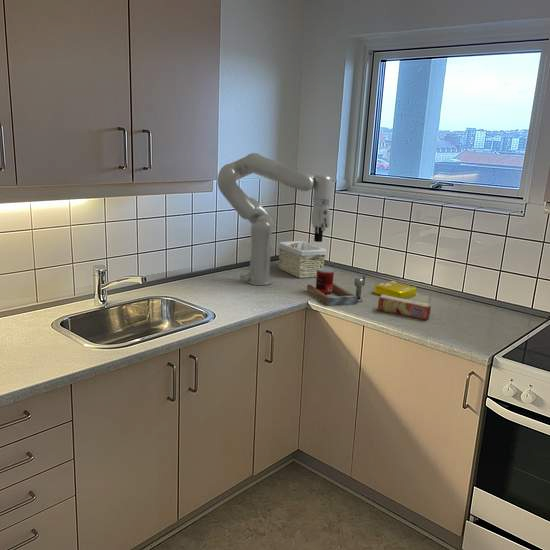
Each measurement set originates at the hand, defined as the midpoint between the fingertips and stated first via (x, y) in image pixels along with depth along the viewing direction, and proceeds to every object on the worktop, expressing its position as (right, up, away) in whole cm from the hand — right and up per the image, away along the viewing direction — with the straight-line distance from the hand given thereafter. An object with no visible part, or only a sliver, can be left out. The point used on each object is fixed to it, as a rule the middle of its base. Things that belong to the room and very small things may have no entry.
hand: (318, 241), depth 259 cm
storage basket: (-7, -15, +30) cm, 35 cm away
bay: (+5, -26, -10) cm, 28 cm away
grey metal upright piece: (+17, -27, -13) cm, 35 cm away
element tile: (+36, -26, 0) cm, 44 cm away
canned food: (+2, -24, -3) cm, 24 cm away
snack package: (+33, -33, -28) cm, 54 cm away
